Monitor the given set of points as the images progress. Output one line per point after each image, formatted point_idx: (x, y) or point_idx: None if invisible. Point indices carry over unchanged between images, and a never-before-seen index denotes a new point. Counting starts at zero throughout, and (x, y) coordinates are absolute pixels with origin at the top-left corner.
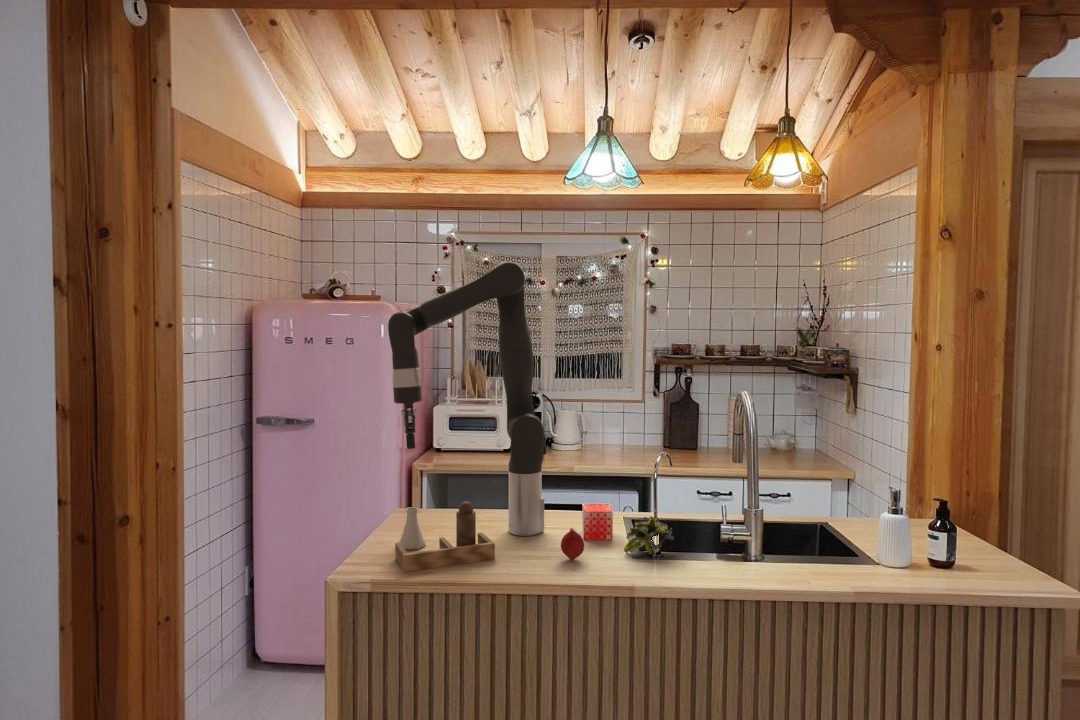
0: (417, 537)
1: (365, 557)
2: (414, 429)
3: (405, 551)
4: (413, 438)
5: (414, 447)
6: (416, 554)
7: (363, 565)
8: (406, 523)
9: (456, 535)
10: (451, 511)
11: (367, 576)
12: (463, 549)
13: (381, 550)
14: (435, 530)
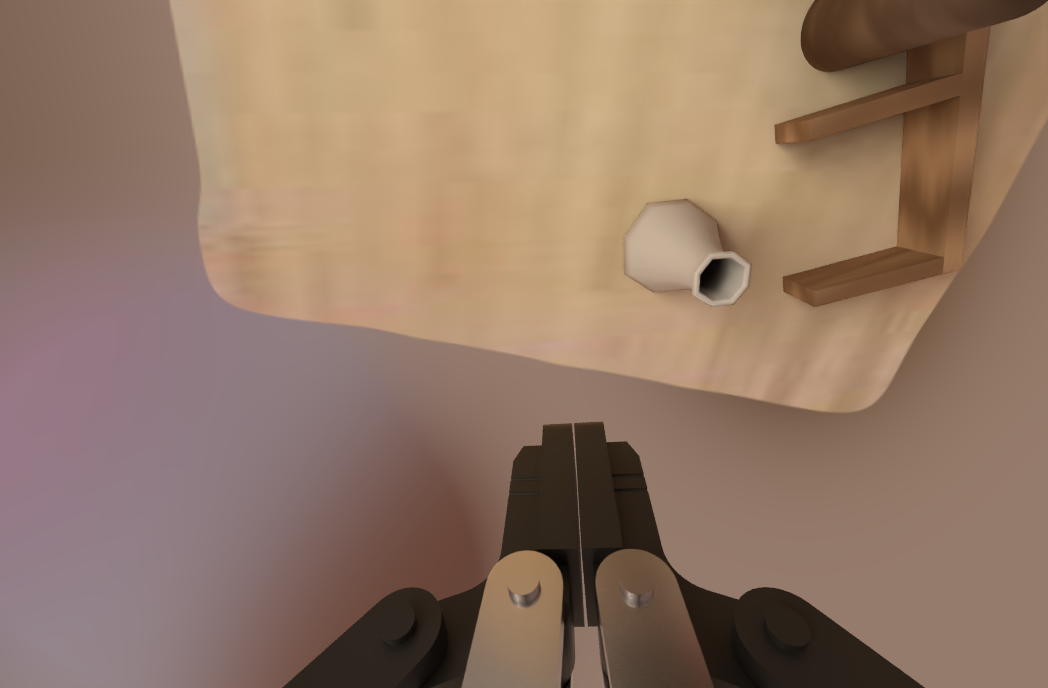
0: (717, 232)
1: (737, 373)
2: (889, 672)
3: (921, 266)
4: (614, 513)
5: (603, 426)
6: (964, 226)
7: (803, 371)
8: (708, 286)
9: (897, 52)
10: (215, 96)
11: (897, 352)
12: None
13: (686, 337)
14: (497, 166)
